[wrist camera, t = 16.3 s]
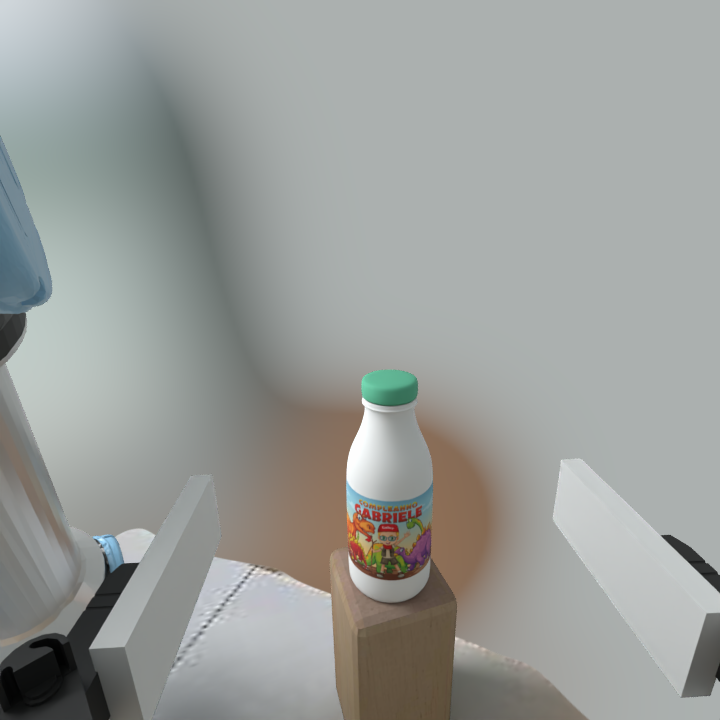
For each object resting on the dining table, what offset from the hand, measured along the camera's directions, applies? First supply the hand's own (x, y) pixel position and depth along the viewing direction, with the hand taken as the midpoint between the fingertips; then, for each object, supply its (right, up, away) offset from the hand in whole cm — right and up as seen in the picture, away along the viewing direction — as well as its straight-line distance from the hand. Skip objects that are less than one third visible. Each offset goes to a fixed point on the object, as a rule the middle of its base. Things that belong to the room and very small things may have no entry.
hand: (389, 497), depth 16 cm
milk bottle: (+2, -15, +25) cm, 29 cm away
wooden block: (+2, -34, +31) cm, 46 cm away
